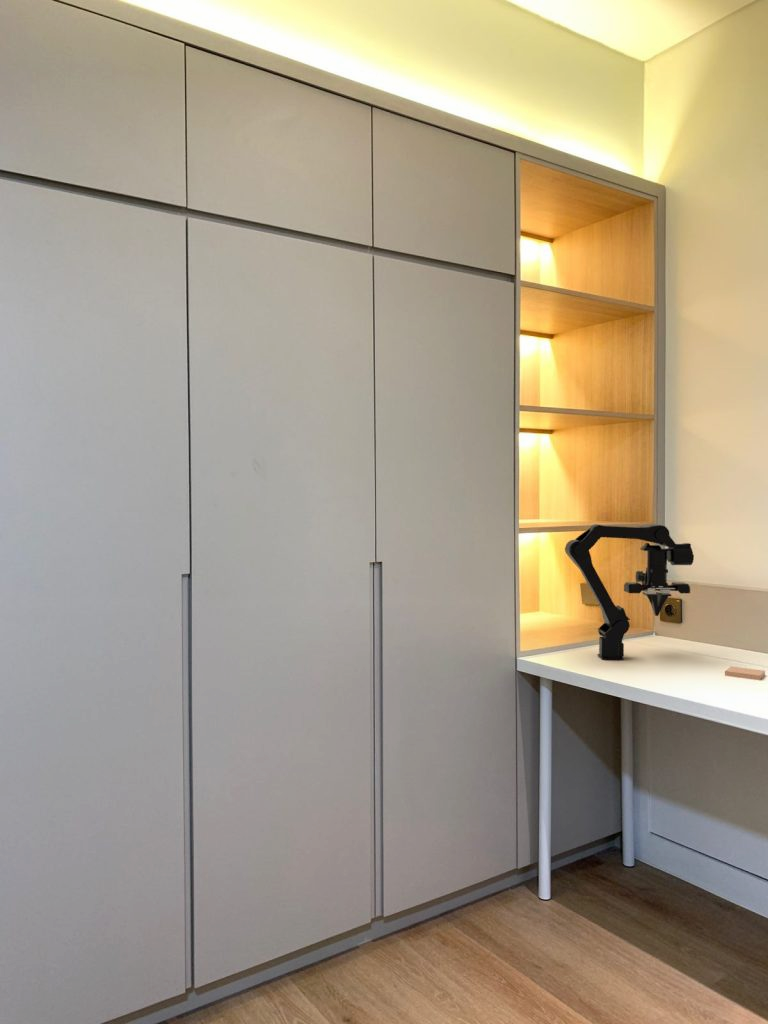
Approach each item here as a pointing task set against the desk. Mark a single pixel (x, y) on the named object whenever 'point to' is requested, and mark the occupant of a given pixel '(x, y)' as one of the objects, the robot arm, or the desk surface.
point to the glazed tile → (745, 673)
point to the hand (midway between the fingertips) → (656, 615)
